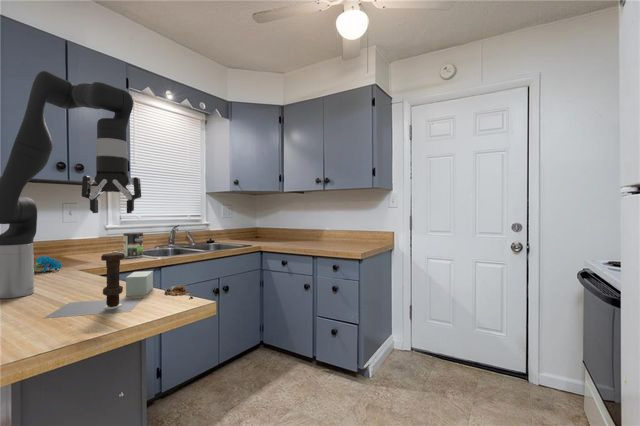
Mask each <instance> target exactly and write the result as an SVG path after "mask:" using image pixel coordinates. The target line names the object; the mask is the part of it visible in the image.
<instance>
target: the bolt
mask: <svg viewBox="0 0 640 426" xmlns="http://www.w3.org/2000/svg"><path fill="white" fill-rule="evenodd" d="M124 259H126V258H125V254H124V252H123V253H122V252H113V253H111V252H110V253H105V254H104V253H103V254H102V255H101V256H100V260H101V261H104V262H105V266H106V267H105V268H106V286H104V288H103V289H102V295H104V296H106V299H105V300H106V304H107V306H109V307H113V306H115V307H116V306H118V305H119V299H120V295H121V294H122V293H123V290H124V289H123V288H124V287H123V286H122V285H120V269H121V268H120V266H121V261H122V260H124Z"/></svg>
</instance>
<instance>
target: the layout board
mask: <svg viewBox="0 0 640 426" xmlns="http://www.w3.org/2000/svg"><path fill="white" fill-rule="evenodd" d="M143 299H144V297H134V298H133V297H129V298H119V305H118V306H116V307H115V306H113V307H109V306H107V304H106V300H107V299H103V300H102V299H101V300H99V299H98V300H88V301H87V300H86V301H71V302H68V303H66V304H65V305H63V306H61V307H59V308H58V309H56V310H54V311H53V312H52V313H50V314H48V315H46V316H45V317H43V319H51V318H52V319H53V318H65V317H78V316H92V315H106V314H116V313H117V314H118V313H128V312H129V313H130V312H132V311H133V310H134V309H135V308H136V307H137V305H139V303H140V302H141V301H143Z"/></svg>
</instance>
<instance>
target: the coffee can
mask: <svg viewBox="0 0 640 426" xmlns="http://www.w3.org/2000/svg"><path fill="white" fill-rule="evenodd" d="M122 236H123V254H125V258H124V259H129V258H130V259H131V258H133V259H135V258H141V257H143V256H144V232H125V233H123V234H122Z"/></svg>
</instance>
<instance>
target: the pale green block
mask: <svg viewBox="0 0 640 426" xmlns="http://www.w3.org/2000/svg"><path fill="white" fill-rule="evenodd" d="M153 289H154V271H153V270H150V271H149V270H148V271H147V270H146V271H133V272H132V273H130V274H129V275H128V276H126V277H125V296H126V297H130V296H131V297H133V296H146V295H148V294H149V293H150V292H151V290H153Z"/></svg>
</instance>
